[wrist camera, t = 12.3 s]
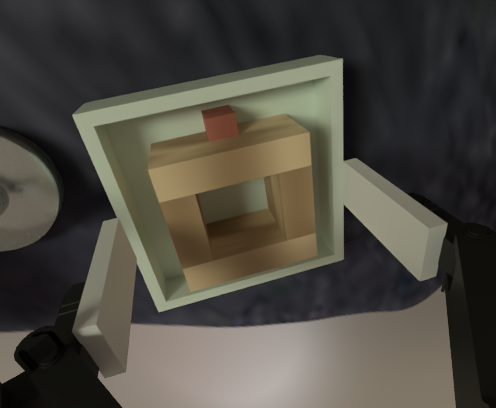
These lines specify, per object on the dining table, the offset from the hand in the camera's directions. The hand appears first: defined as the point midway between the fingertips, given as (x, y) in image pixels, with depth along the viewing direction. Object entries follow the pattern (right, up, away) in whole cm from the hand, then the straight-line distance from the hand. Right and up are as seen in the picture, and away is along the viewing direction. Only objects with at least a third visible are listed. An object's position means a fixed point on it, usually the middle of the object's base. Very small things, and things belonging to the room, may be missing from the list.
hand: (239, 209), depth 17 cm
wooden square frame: (-1, +1, +4) cm, 4 cm away
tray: (-1, +2, +4) cm, 5 cm away
